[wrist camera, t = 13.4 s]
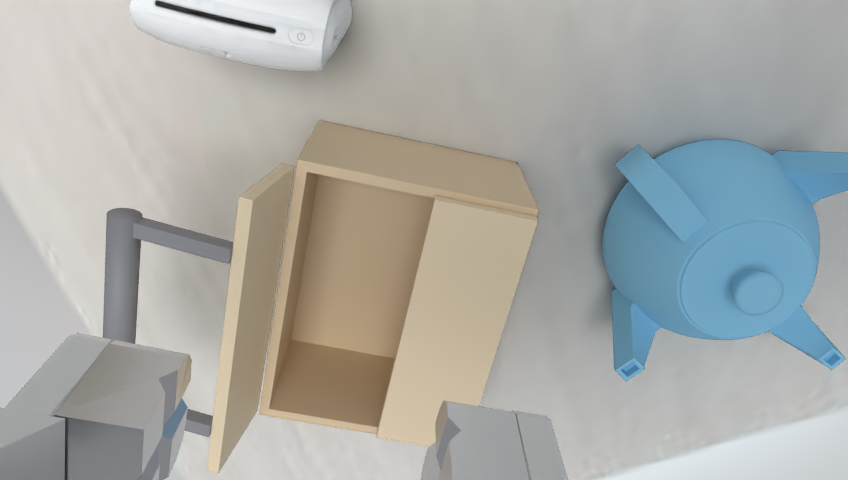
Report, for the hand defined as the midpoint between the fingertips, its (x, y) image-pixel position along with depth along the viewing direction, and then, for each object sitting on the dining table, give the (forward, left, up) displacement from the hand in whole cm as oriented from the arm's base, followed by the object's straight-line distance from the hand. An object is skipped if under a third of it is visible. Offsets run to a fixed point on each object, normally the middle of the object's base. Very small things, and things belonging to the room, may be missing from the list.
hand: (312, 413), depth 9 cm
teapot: (-24, +8, -37) cm, 45 cm away
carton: (-3, +15, -37) cm, 40 cm away
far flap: (+5, +15, -25) cm, 29 cm away
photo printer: (+8, -1, -37) cm, 38 cm away
